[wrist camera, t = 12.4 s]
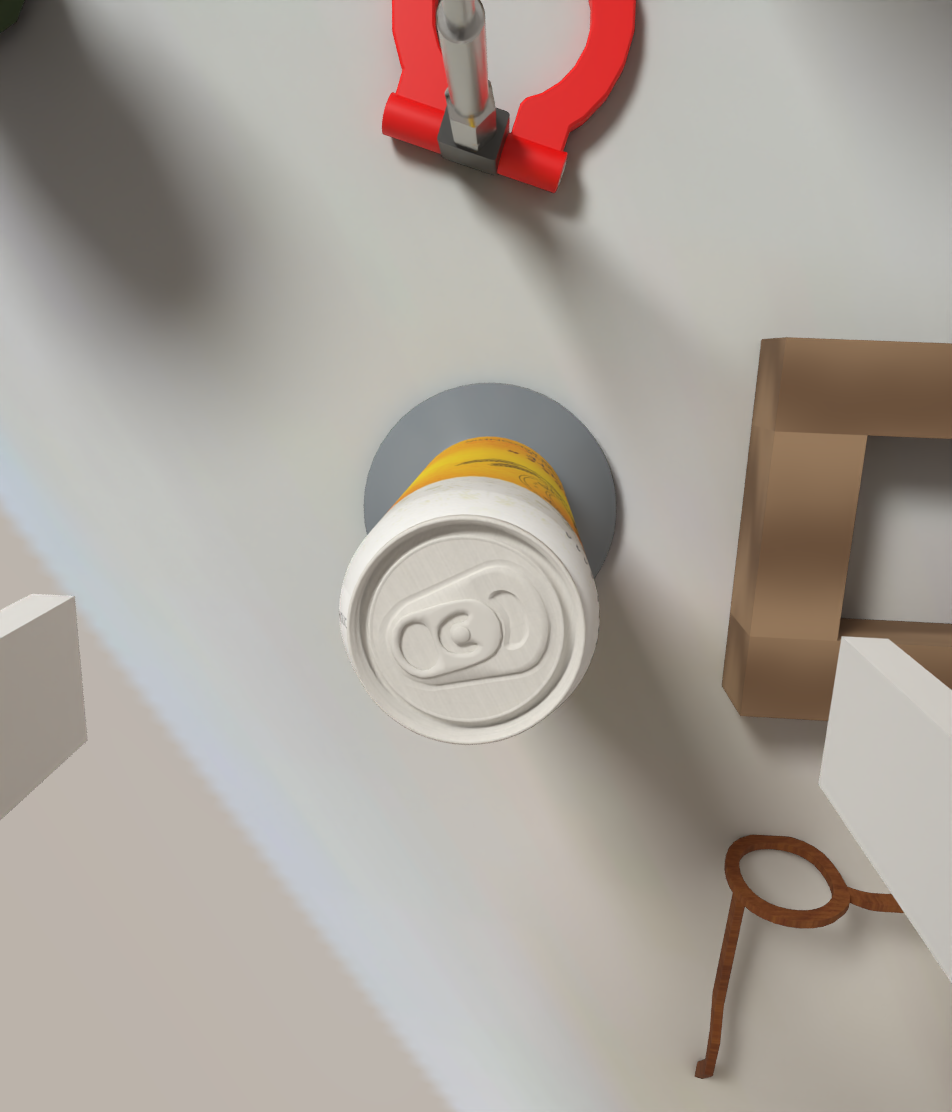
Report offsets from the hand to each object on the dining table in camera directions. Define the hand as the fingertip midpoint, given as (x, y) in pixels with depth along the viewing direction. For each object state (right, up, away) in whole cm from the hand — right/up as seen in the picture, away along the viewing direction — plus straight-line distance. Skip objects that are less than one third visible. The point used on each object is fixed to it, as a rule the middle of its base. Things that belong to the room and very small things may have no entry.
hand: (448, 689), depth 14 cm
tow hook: (+2, +21, +15) cm, 26 cm away
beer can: (+1, +4, +19) cm, 19 cm away
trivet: (+1, +4, +19) cm, 20 cm away
